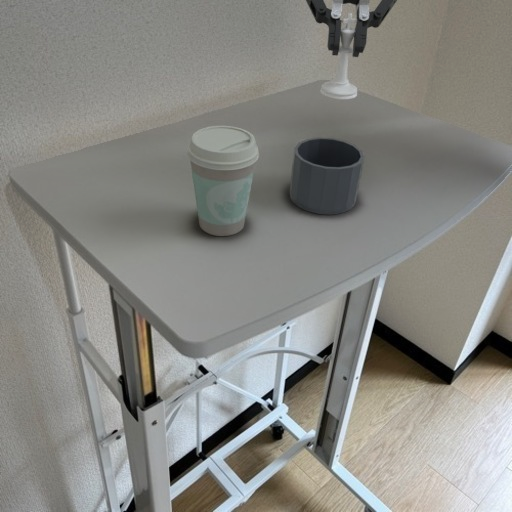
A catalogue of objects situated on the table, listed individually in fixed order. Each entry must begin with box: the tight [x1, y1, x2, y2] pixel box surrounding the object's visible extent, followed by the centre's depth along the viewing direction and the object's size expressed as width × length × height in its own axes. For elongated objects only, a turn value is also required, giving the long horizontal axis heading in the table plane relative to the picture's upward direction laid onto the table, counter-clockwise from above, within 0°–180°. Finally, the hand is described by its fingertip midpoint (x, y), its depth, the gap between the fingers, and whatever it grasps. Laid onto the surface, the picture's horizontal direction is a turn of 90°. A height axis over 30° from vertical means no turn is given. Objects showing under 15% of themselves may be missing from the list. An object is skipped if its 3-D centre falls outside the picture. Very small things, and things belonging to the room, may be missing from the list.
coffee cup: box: [186, 125, 260, 237], centre depth 68 cm, size 8×8×12 cm
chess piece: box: [319, 12, 358, 101], centre depth 71 cm, size 5×5×10 cm
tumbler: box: [289, 136, 365, 216], centre depth 76 cm, size 9×9×7 cm
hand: (346, 52), depth 68 cm, fingers closed on chess piece
